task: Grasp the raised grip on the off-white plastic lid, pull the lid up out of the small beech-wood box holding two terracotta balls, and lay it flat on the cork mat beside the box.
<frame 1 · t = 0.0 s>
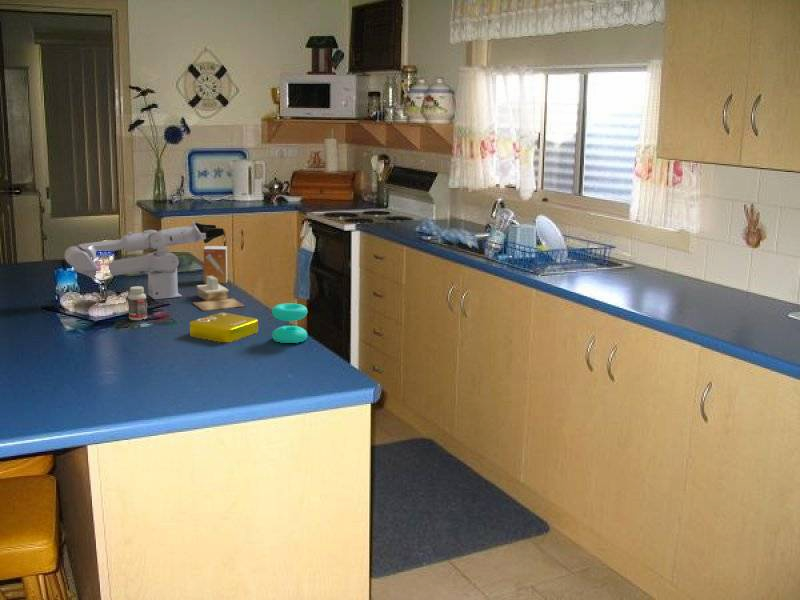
hand: (219, 229, 292), 22 cm above the counter, tool horizontal, fingers open, 7 cm apart
donuts: (289, 340, 241), on the counter
box: (212, 297, 287), on the counter
small box: (216, 282, 311), on the counter
mat: (218, 305, 277), on the counter
element tile: (224, 335, 246), on the counter
pill bottle: (138, 319, 259), on the counter
lid: (212, 289, 286), point 3 cm above the counter, touching box
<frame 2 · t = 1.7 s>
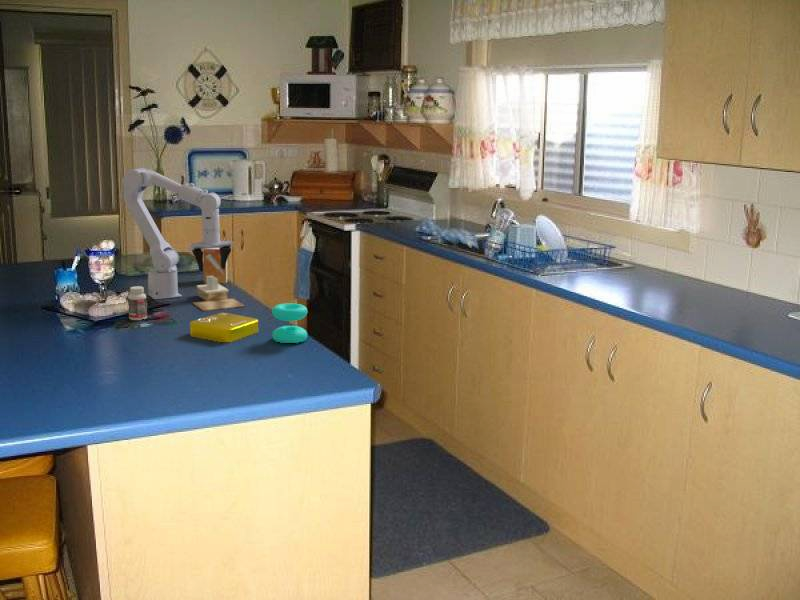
hand: (212, 269, 285), 10 cm above the counter, tool pointing down, fingers open, 7 cm apart
nothing on the counter moved.
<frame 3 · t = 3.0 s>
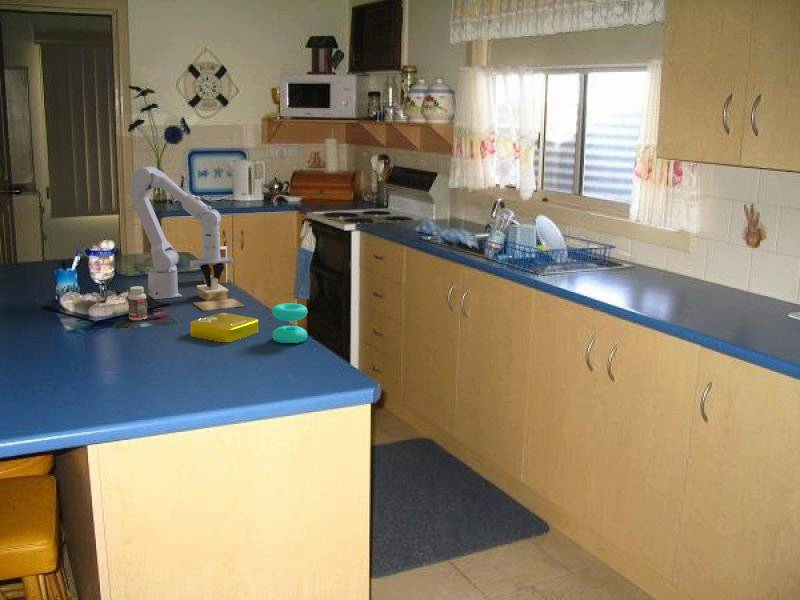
hand: (212, 285, 286), 4 cm above the counter, tool pointing down, fingers closed on lid
lid: (212, 289, 286), point 3 cm above the counter, touching box, gripper
everything else where it was.
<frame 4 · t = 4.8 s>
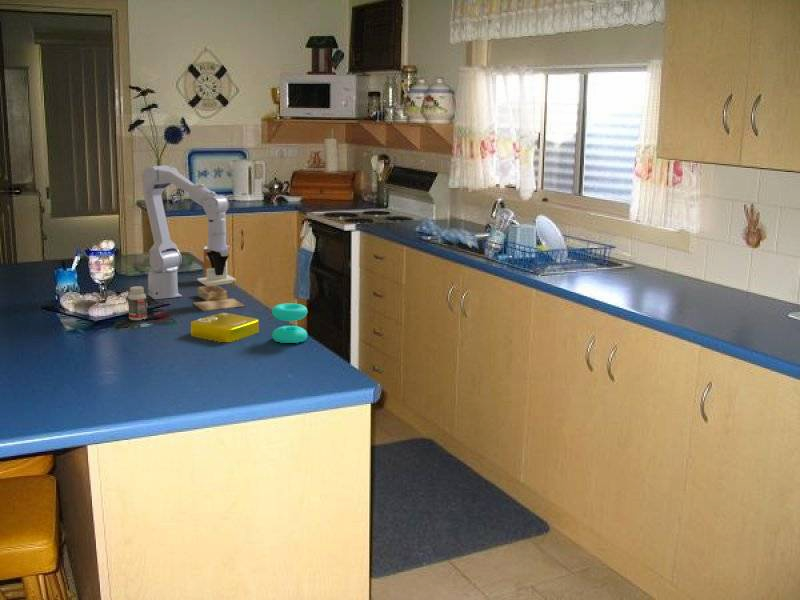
hand: (218, 274, 275), 10 cm above the counter, tool pointing down, fingers closed on lid
lid: (216, 280, 275), point 8 cm above the counter, touching gripper
everything else where it was.
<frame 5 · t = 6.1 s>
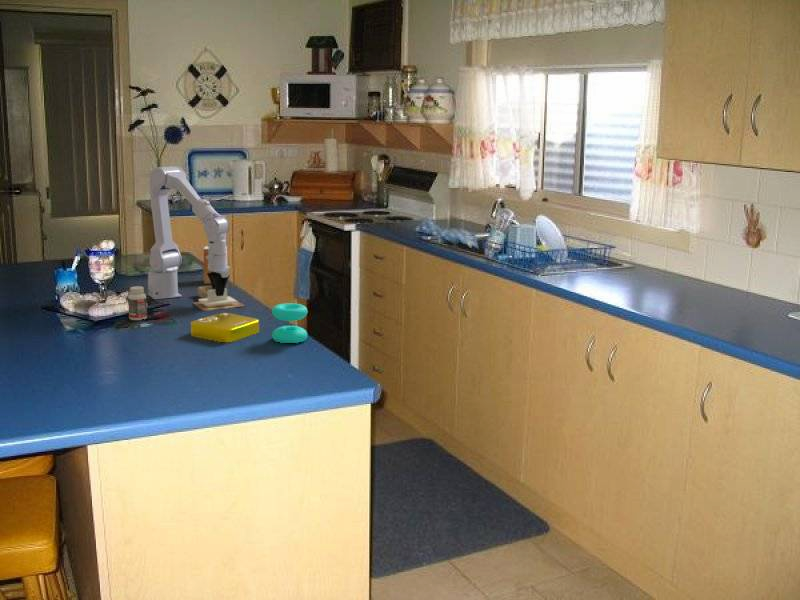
hand: (218, 294, 277), 4 cm above the counter, tool pointing down, fingers closed on lid
lid: (217, 301, 277), point 1 cm above the counter, touching gripper, mat
everything else where it was.
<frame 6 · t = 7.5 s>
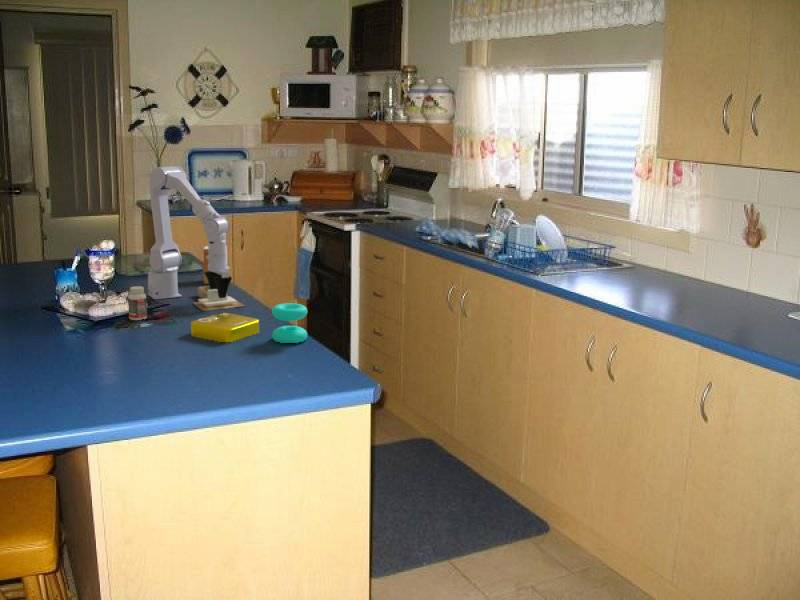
hand: (218, 295, 277), 3 cm above the counter, tool pointing down, fingers open, 7 cm apart
lid: (217, 301, 277), point 1 cm above the counter, touching mat
everything else where it was.
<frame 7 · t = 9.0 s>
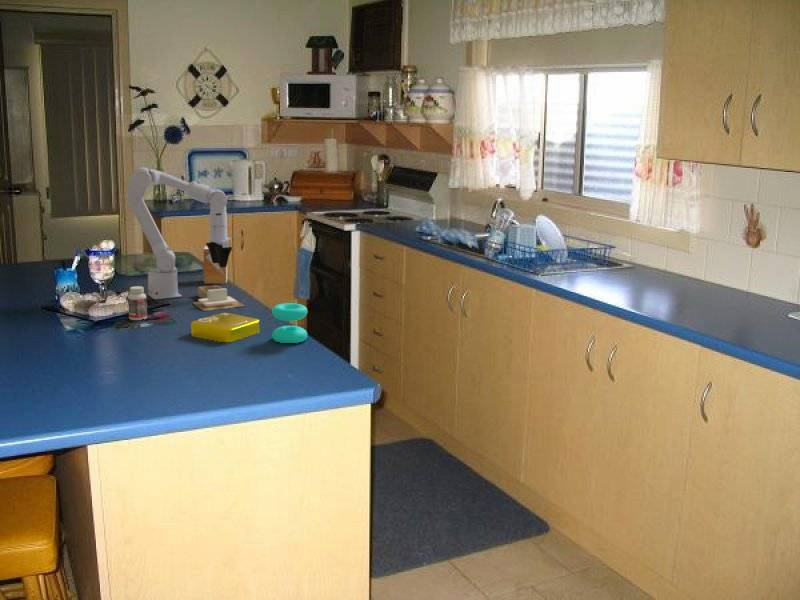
hand: (219, 264, 290), 10 cm above the counter, tool pointing down, fingers open, 7 cm apart
nothing on the counter moved.
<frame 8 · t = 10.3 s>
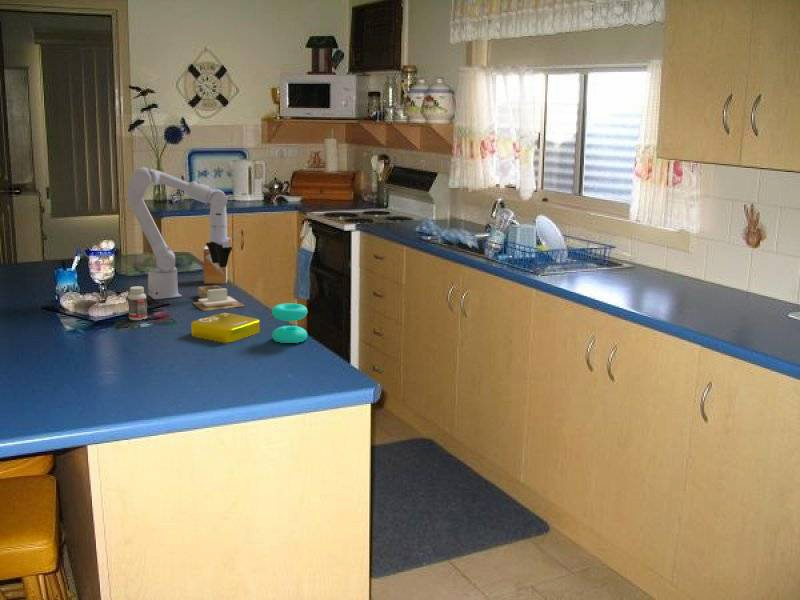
hand: (219, 264, 290), 10 cm above the counter, tool pointing down, fingers open, 7 cm apart
nothing on the counter moved.
at the end: lid inside the target area on the mat (0.3 cm from its centre), point 1.2 cm above the mat's base; lid tilted 0°; the gripper is holding nothing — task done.
